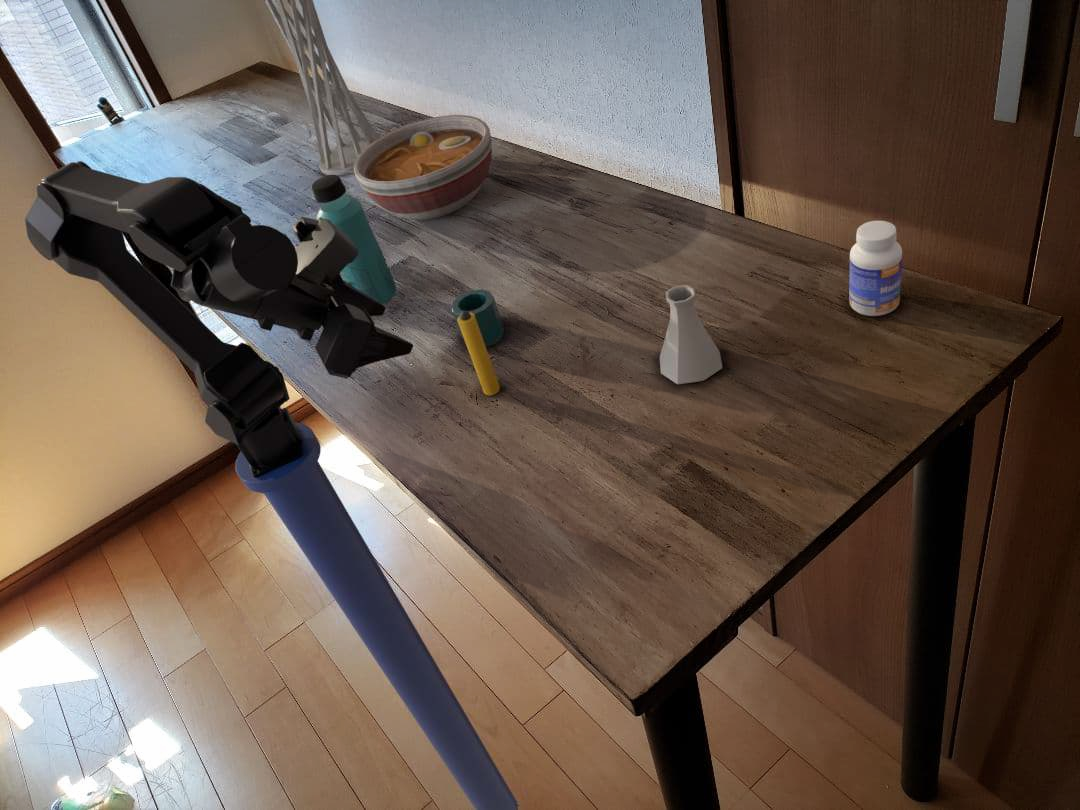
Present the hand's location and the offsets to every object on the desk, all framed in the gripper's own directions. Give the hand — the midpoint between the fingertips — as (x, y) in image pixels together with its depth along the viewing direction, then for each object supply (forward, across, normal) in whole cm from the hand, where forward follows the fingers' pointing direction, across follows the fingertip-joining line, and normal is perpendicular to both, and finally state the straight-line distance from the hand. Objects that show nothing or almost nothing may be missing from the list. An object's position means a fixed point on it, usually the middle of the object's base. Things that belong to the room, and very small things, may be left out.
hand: (397, 329), depth 91 cm
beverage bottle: (+12, +29, +8) cm, 33 cm away
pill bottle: (+45, -18, -25) cm, 54 cm away
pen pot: (+18, +11, +2) cm, 21 cm away
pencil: (+15, 0, +4) cm, 16 cm away
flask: (+29, -12, -10) cm, 33 cm away
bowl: (+25, +51, -5) cm, 57 cm away
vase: (+21, +84, -1) cm, 86 cm away
